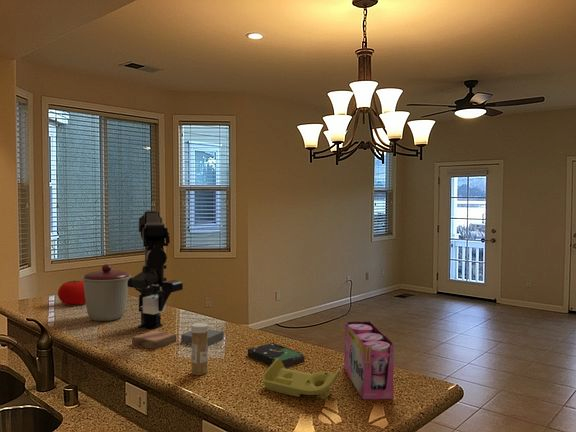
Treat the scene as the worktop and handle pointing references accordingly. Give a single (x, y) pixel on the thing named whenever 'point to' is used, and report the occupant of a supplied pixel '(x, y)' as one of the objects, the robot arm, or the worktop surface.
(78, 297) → the tomato
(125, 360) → the worktop surface
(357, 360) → the gum box
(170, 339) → the brown square tray
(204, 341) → the sprinkles bottle
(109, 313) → the canister
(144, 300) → the two-plate housing
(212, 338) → the slate stand
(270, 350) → the disk drive
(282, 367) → the plastic component
